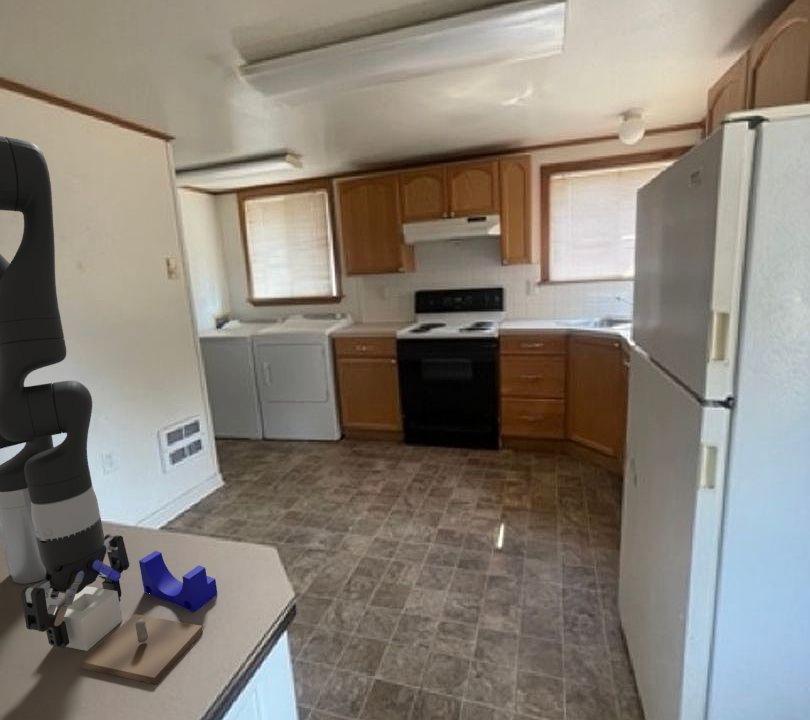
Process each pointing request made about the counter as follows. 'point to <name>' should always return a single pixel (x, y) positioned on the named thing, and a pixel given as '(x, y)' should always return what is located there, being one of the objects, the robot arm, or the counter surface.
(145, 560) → the blue curved saddle bracket
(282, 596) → the counter surface
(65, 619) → the white hollow square block
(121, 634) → the pin base
